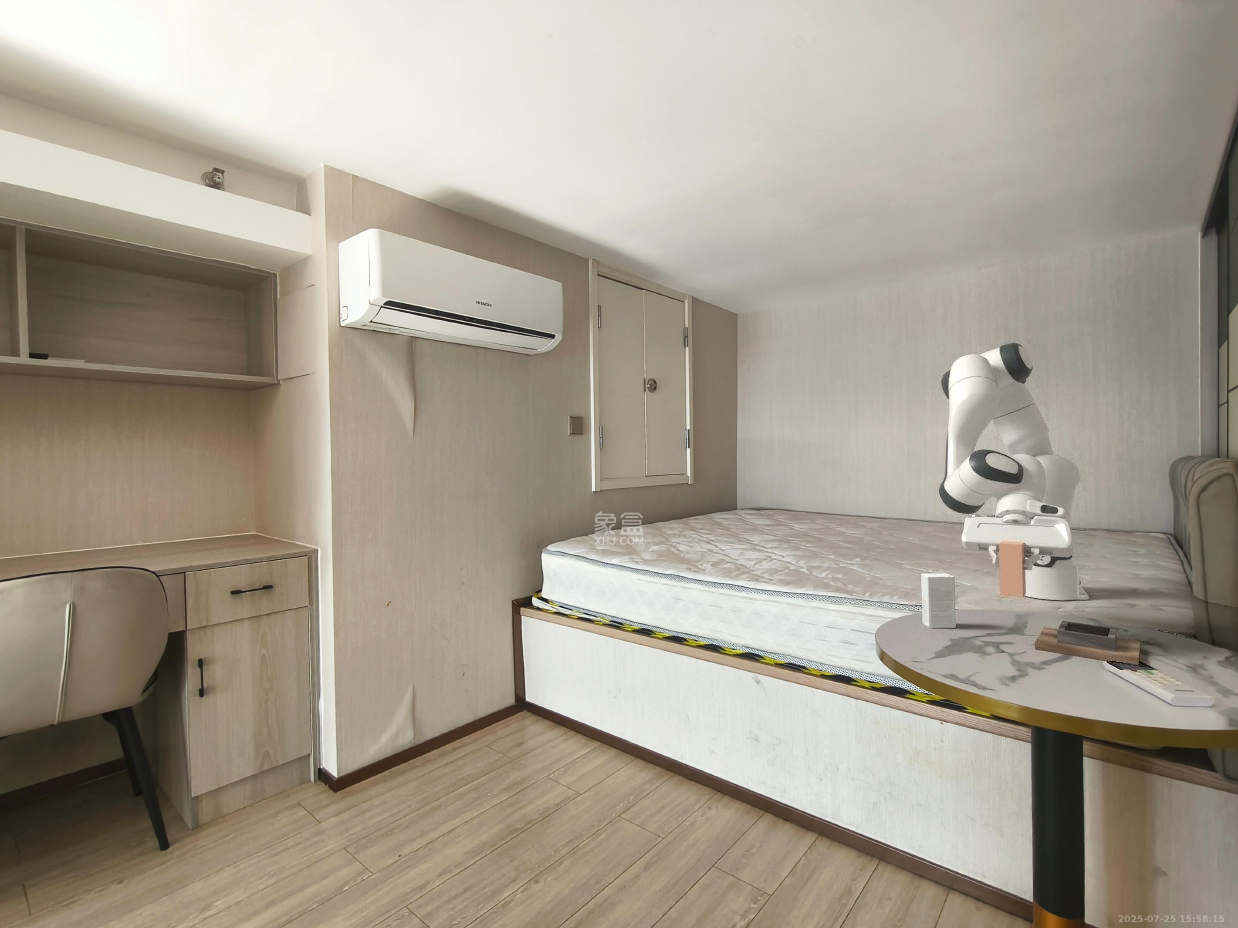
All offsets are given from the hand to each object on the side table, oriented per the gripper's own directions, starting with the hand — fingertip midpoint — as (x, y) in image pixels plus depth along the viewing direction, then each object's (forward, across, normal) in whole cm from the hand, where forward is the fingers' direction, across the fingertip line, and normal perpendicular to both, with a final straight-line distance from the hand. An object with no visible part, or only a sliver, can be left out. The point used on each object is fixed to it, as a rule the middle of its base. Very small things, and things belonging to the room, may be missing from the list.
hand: (1011, 567), depth 126 cm
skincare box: (+8, -16, +15) cm, 23 cm away
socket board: (+8, +12, +15) cm, 21 cm away
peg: (+4, 0, +5) cm, 6 cm away
